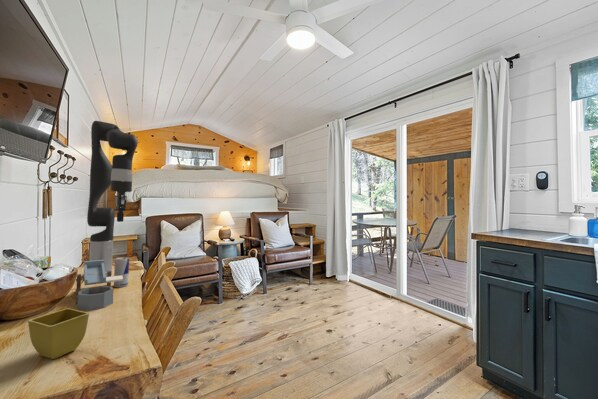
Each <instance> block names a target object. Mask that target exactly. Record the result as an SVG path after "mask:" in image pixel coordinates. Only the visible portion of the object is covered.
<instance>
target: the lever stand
mask: <svg viewBox="0 0 598 399" xmlns="http://www.w3.org/2000/svg"><path fill="white" fill-rule="evenodd" d="M107 277H112V275H111V271H107ZM81 285H82V273H77V274H76V289H75V305H78V291H81V290H84V289H87V288H91V287H92V286H88V287H82V286H81ZM99 286H100V285H97V286H94V287H99ZM102 286H109V287H112V282H108V283H106V284H104V285H102ZM81 287H82V288H81Z"/></svg>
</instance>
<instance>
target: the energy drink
mask: <svg viewBox="0 0 598 399" xmlns="http://www.w3.org/2000/svg"><path fill="white" fill-rule="evenodd" d="M113 270H114V274H113V276H120V275H122V276H123V281H116V282H113V287H114V288H124V287H128V286H129V277H130V276H129V275H130V273H129V272H130V258H129V257H127V256H120V257H116V258H115V259H114V269H113Z"/></svg>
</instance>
